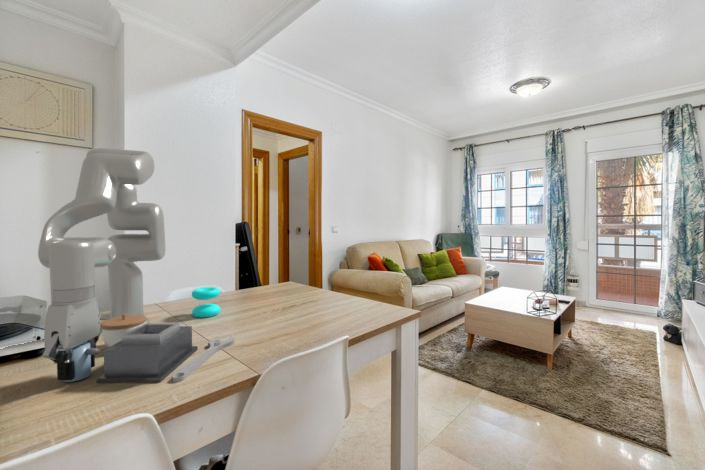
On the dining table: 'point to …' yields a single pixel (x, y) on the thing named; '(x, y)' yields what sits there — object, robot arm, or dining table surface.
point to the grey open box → (147, 353)
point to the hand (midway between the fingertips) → (77, 372)
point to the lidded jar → (120, 327)
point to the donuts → (206, 309)
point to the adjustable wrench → (202, 358)
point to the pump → (82, 360)
